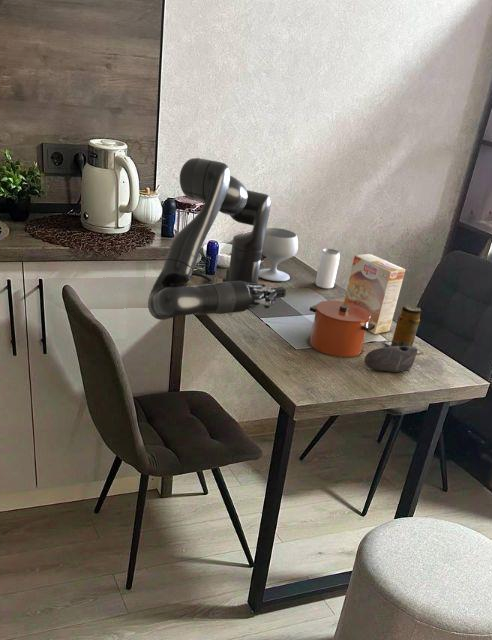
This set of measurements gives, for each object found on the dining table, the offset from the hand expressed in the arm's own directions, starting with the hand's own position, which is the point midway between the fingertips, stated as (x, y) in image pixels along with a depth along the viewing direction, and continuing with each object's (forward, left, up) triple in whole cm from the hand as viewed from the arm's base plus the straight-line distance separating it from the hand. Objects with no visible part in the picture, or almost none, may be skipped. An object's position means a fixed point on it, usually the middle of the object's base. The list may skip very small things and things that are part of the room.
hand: (284, 292), depth 186 cm
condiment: (+13, +41, -18) cm, 47 cm away
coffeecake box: (-5, +45, -18) cm, 49 cm away
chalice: (-50, +48, -18) cm, 72 cm away
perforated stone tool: (+21, +24, -18) cm, 37 cm away
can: (-36, +59, -18) cm, 72 cm away
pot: (+3, +23, -18) cm, 29 cm away
